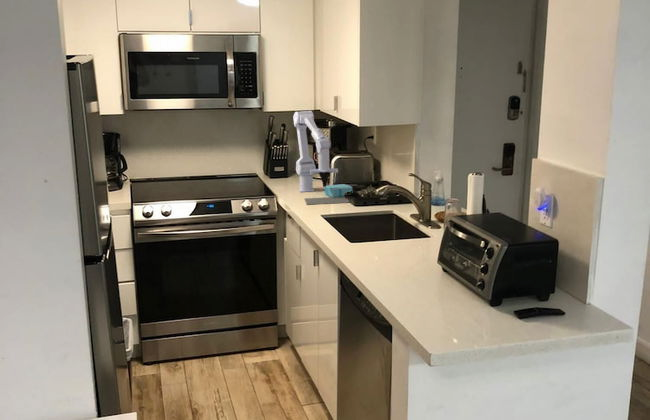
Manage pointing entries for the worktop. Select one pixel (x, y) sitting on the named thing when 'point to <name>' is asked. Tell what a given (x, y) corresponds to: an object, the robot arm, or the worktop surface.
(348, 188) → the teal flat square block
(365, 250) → the worktop surface
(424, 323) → the worktop surface
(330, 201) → the mat
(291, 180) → the worktop surface
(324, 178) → the robot arm
